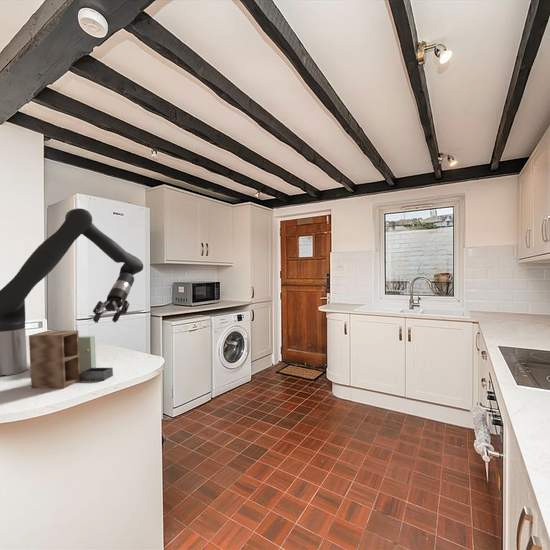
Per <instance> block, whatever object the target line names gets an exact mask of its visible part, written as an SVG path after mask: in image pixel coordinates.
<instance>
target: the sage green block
mask: <svg viewBox="0 0 550 550" xmlns="http://www.w3.org/2000/svg"><path fill="white" fill-rule="evenodd" d="M79 357H80V373H81V372H83V371H85V370H87V369H89V368H97V361H96V357H97V356H96V337H95V335H79Z"/></svg>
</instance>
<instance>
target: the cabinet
mask: <svg viewBox="0 0 550 550" xmlns="http://www.w3.org/2000/svg"><path fill="white" fill-rule="evenodd" d="M79 336H80V334H79V330H45V331H42V332H38V333H33V334H31V335H30V334H29V335H28V342H29V343H28V345H29V363H30V383H31V384H30V385H31V386H30V387H31V389H65V388H67V387H69V386H71V385H74V384H76V383H78V382H79V381H80V375H79V374H80V357H79Z"/></svg>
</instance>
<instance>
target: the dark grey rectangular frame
mask: <svg viewBox="0 0 550 550" xmlns="http://www.w3.org/2000/svg"><path fill="white" fill-rule="evenodd" d="M113 368H114V367H96V368H89V369H87V370H85V371H83V372H81V373H80V374H79V375H80V381H106V380H108V379H109V378H111V377H113V376H114V372H113V371H114V370H113Z"/></svg>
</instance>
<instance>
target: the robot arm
mask: <svg viewBox="0 0 550 550" xmlns="http://www.w3.org/2000/svg"><path fill="white" fill-rule="evenodd" d="M81 235H82V236H84V237H86V239H88V240H89V241H91V242H92V243H93V244H94V245H95V246H97V247H98V248H99V249H100V250H101V251H102V252H103V253H104V254H105V255H106V256H107V257H108V258H110V259H111V260H112V261H114V262H115V263H117V264H120V263H123V265H121V267H120V269H119V274H118V277H117V279H116V281H115V283H114V284H113V285H112V287H111V288H110V291H109V292H108V293H107V296H106V300H105V301H101V300H99V301H98V302H97V303H96V305H95V307H94V308H93V310H92V313H94V316H93V319H92V321H93V322H94V323H95V324H96V323H98V322H99V321H100V318H101V317H102V315H104V314H107V313H108V312H115V313H114V315H113V317H112V322H113V323H117V322H118V321H119V319H120V317H121V316H122V315H126V314H127V312H128V310H129V307H130V302H129V301H128V300H126V299H127V298H128V296H129V294H130V292H131V288H132V286H133V284H134V282H135V277H134V275H137V274H139V273H140V272H142V271H143V269H144V264H143V262H142V260H141V259H140V258H138V257H137V256H135V255H133V254H131V253H129V252H127V251H126V250H125V249H124V248H123V247H122V246H121V245H119V244H118V243H117V241H114V240H113V239H112V238H110V237H109V236H107V234H105V233H103V231H101V230H100V229H98V227H97V226H96V225H95V224H94V223H93V217H92V214H91V212H90V211H89V210H87V209H84V208H74V209H71V210H69V211H68V212H66V214H65V217H64V221H63V223H62V224H61V226H60V227H59V228H58V229H56V231H55V232H54V233H53V234H51V235H50V236H49V237H48V238H46V239H45V240H44V241H43V242H42V243H41V244H39V245H38V246H37V248H36V249H35V250H34V251H33V252H32V253H31V255H30V256H29V257H28V258H27V259H26V261H25V262H24V263H23V265H22V266H21V267H20V268H19V270H18V271H17V273H16V275H14V277H13V278H12V279H11V280H10V281H9V282H7V284H5V285H4V286H3V287H2V288H1V289H0V375H6V376H12V374H13V375H17V374H21V373H24V372H26V371H27V370H28V357H27V356H28V355H27V354H28V353H27V338H26V335H27V334H26V298H27V297H28V296H29V294H30V292H31V291H32V290H33V289H34V288H35V287H36V285H37V284H39V283H40V282H41V281H42V280H43V279H44V278H46V277H47V276H48V274H50V273H51V272H52V271H53V269H55V267H56V266H57V265H58V264H59V263H60V261H61V260H62V259H63V258H64V256H65V254H66V253H67V252H68V251H69V249H70V248H71V247H72V245H73V244H74V242H75V241H76V240H77V239H78V238H79V237H80V236H81Z"/></svg>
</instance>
